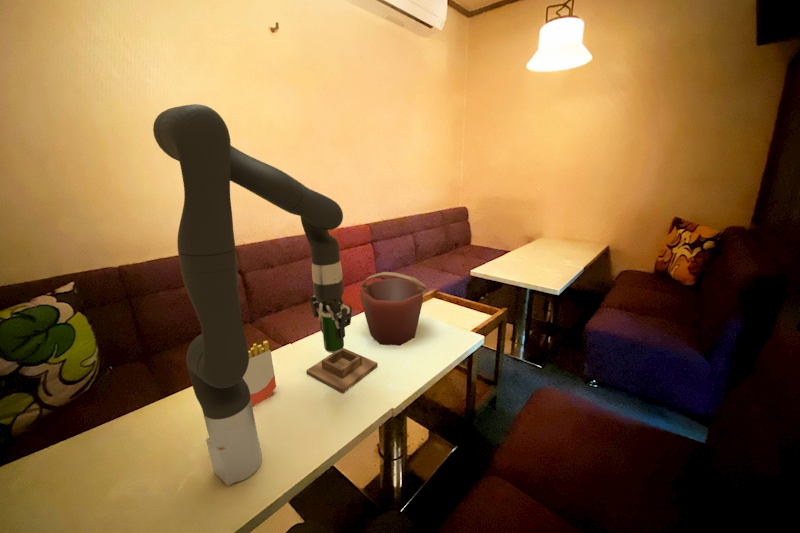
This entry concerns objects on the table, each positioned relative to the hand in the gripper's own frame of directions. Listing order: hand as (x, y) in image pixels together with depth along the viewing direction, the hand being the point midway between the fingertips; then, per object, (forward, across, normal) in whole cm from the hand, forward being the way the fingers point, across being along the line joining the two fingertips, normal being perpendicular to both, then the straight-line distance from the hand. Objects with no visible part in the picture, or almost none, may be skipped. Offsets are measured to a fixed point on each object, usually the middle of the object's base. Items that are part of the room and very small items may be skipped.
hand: (333, 335), depth 96 cm
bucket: (+20, -8, +36) cm, 42 cm away
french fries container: (+20, -18, -15) cm, 31 cm away
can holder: (+20, -7, +9) cm, 23 cm away
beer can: (+4, 0, 0) cm, 4 cm away
